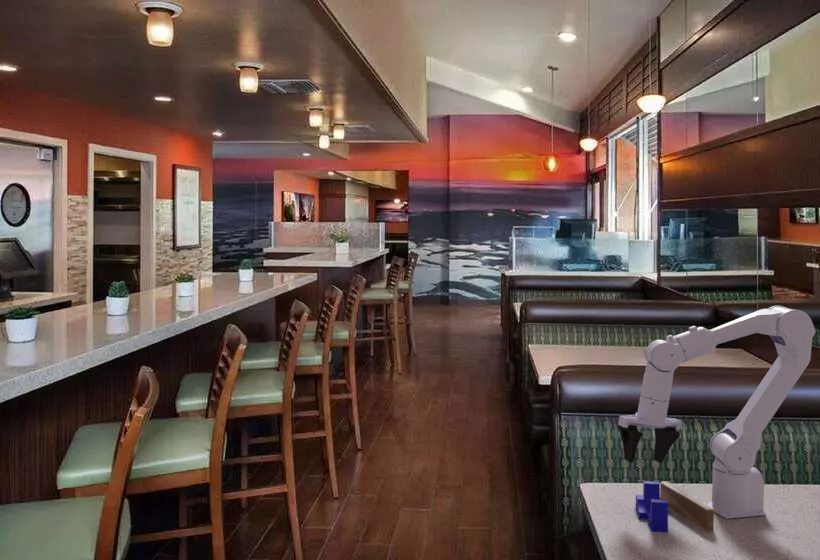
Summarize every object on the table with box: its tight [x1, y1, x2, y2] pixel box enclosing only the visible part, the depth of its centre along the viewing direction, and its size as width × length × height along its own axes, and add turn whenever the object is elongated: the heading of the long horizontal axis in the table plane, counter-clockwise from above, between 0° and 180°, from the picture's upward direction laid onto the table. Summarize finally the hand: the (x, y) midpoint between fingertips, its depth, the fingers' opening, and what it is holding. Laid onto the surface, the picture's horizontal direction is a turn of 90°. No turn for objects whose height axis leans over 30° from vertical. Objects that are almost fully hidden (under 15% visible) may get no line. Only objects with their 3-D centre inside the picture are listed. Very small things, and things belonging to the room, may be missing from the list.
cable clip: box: [635, 480, 669, 534], centre depth 144 cm, size 12×4×6 cm, turn 169°
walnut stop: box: [659, 480, 715, 532], centre depth 146 cm, size 2×16×4 cm, turn 13°
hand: (643, 461), depth 150 cm, fingers open, 7 cm apart
